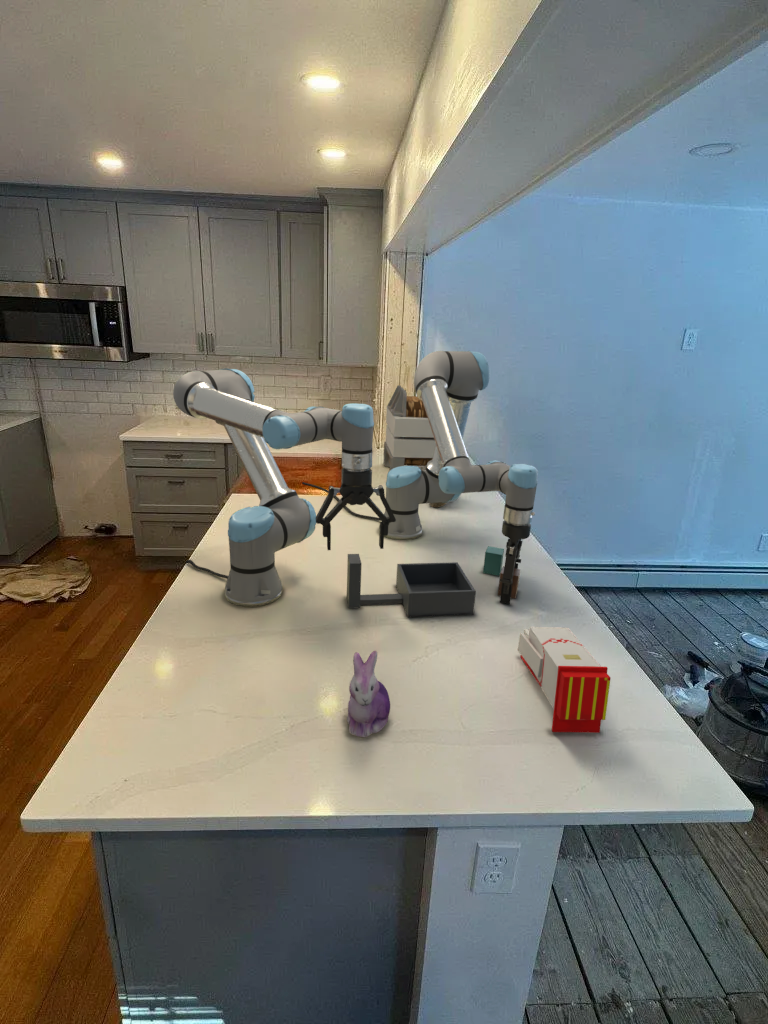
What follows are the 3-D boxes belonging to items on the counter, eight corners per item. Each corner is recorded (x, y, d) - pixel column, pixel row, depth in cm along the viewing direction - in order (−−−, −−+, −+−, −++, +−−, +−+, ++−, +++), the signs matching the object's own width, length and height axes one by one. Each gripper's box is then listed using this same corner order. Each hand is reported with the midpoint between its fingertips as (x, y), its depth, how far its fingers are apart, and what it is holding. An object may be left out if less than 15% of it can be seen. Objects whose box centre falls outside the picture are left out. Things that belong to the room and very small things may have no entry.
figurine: (356, 747, 102) (359, 677, 97) (334, 712, 111) (335, 646, 105) (402, 731, 106) (406, 663, 101) (377, 699, 115) (380, 635, 110)
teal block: (482, 572, 173) (485, 551, 171) (485, 566, 177) (488, 545, 175) (499, 575, 171) (502, 554, 169) (501, 569, 176) (504, 548, 174)
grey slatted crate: (382, 463, 289) (386, 382, 275) (445, 464, 293) (451, 384, 279) (390, 482, 257) (394, 392, 243) (460, 483, 261) (468, 394, 247)
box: (350, 619, 144) (352, 573, 139) (344, 587, 160) (345, 545, 156) (473, 614, 149) (478, 570, 144) (455, 584, 165) (459, 543, 161)
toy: (564, 611, 133) (619, 673, 103) (558, 664, 135) (611, 739, 106) (512, 610, 132) (554, 672, 103) (508, 663, 135) (547, 738, 106)
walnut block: (497, 595, 160) (500, 573, 157) (500, 588, 164) (502, 566, 162) (515, 599, 158) (518, 576, 156) (517, 591, 162) (520, 569, 160)
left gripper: (306, 472, 134) (306, 554, 141) (409, 471, 138) (405, 551, 145) (305, 464, 141) (306, 543, 148) (403, 463, 145) (400, 540, 152)
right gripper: (526, 539, 142) (516, 615, 149) (535, 510, 163) (526, 577, 171) (496, 534, 144) (487, 609, 151) (509, 506, 166) (500, 573, 173)
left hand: (355, 547), depth 147 cm, fingers open, 13 cm apart
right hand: (508, 592), depth 161 cm, fingers open, 12 cm apart
